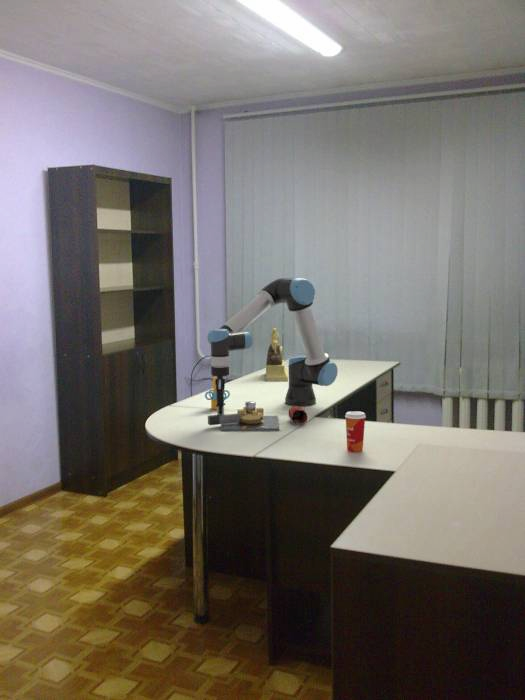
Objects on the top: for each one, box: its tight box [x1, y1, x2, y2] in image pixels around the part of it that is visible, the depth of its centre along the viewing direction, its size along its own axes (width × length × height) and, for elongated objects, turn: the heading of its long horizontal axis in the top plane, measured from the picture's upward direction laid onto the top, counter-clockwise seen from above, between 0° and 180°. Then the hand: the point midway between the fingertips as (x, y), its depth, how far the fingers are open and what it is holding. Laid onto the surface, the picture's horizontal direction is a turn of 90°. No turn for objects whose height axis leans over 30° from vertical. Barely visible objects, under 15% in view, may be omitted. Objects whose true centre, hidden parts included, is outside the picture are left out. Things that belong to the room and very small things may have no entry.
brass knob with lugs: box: [207, 406, 264, 426], centre depth 303 cm, size 24×11×5 cm, turn 112°
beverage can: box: [288, 405, 309, 426], centre depth 309 cm, size 7×12×7 cm, turn 7°
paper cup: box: [344, 410, 367, 453], centre depth 262 cm, size 8×8×14 cm
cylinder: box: [204, 376, 231, 411], centre depth 338 cm, size 12×10×15 cm
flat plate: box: [220, 400, 280, 432], centre depth 305 cm, size 24×25×10 cm
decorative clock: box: [265, 327, 289, 382], centre depth 426 cm, size 28×13×30 cm, turn 179°
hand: (220, 420), depth 303 cm, fingers closed
